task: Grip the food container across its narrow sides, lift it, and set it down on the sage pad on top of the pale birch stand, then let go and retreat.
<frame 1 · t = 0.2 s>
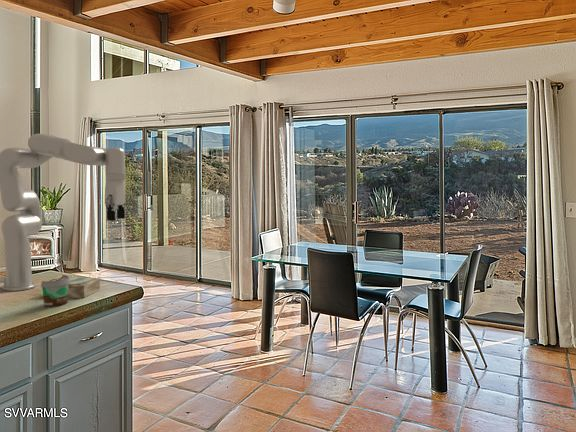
hand: (116, 219, 192), 31 cm above the counter, fingers open, 9 cm apart
food container: (60, 304, 176), on the counter
birch stand: (74, 293, 192), on the counter
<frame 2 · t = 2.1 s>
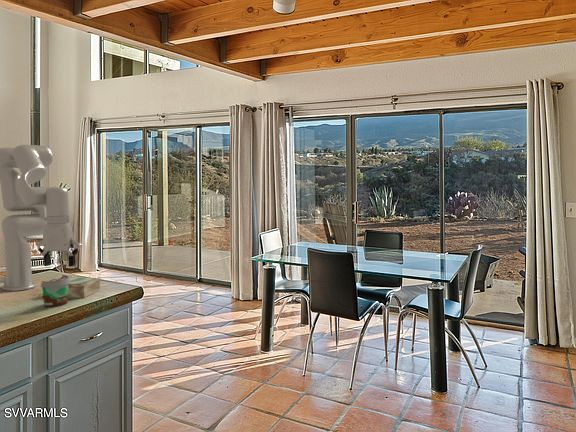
hand: (59, 265, 174), 15 cm above the counter, fingers open, 9 cm apart
nothing on the counter moved.
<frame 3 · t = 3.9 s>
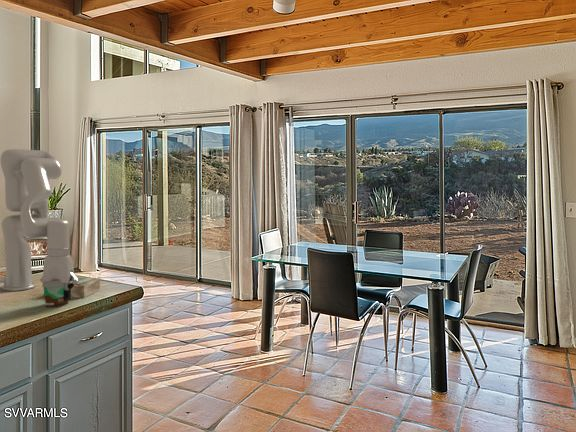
hand: (59, 299, 176), 2 cm above the counter, fingers closed on food container, 5 cm apart
food container: (61, 304, 176), on the counter, touching gripper
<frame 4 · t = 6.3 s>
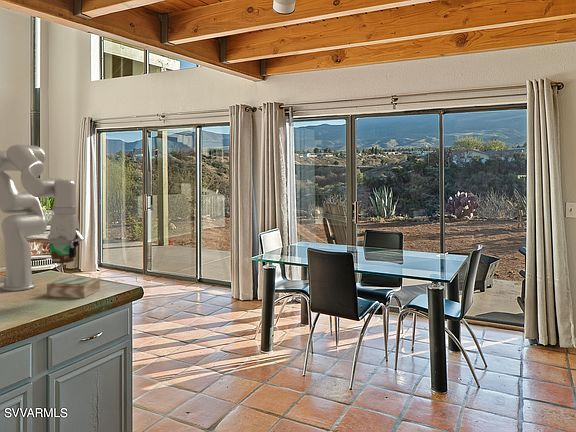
hand: (65, 256, 183), 17 cm above the counter, fingers closed on food container, 5 cm apart
food container: (67, 261, 183), point 15 cm above the counter, touching gripper
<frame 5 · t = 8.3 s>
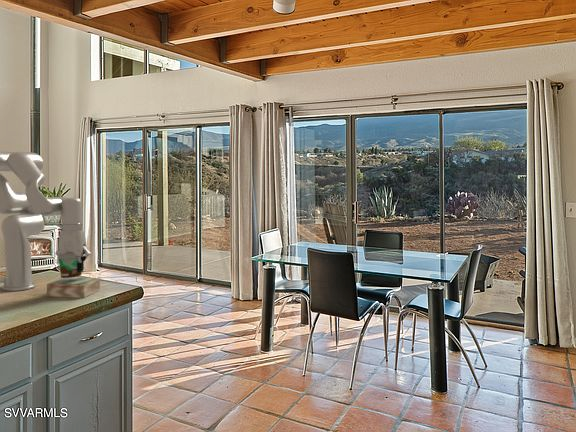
hand: (73, 271, 191), 9 cm above the counter, fingers closed on food container, 5 cm apart
food container: (75, 276, 192), point 7 cm above the counter, touching gripper
when the fingers open (9 cm above the counter, at t = 8.8 s): food container drops 1 cm, resting on birch stand.
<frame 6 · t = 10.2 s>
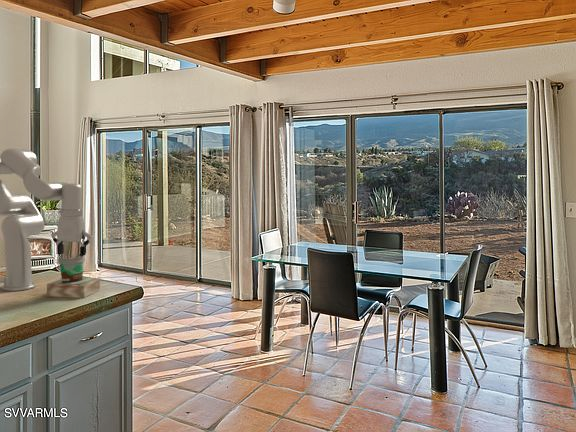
hand: (71, 254, 191), 16 cm above the counter, fingers open, 9 cm apart
food container: (76, 281, 192), point 5 cm above the counter, touching birch stand
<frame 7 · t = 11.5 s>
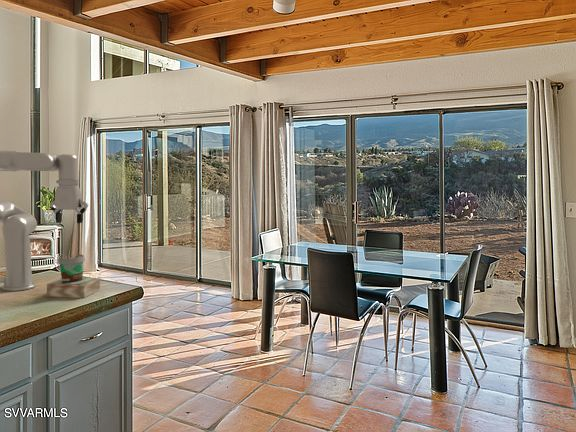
hand: (69, 222, 201), 28 cm above the counter, fingers open, 9 cm apart
nothing on the counter moved.
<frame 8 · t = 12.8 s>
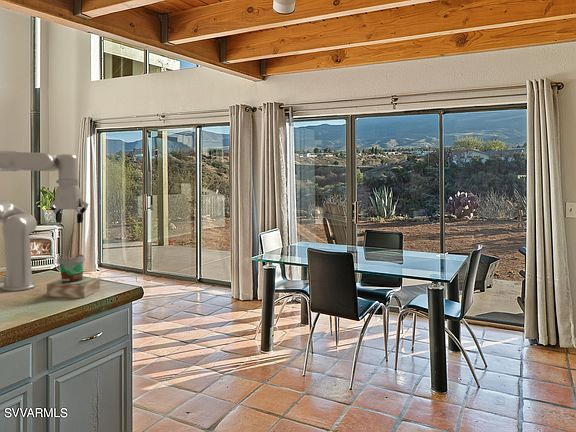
hand: (69, 222, 202), 28 cm above the counter, fingers open, 9 cm apart
nothing on the counter moved.
at the end: food container inside the target area on the birch stand (1.1 cm from its centre), point 5.2 cm above the birch stand's base; food container tilted 0°; the gripper is holding nothing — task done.
